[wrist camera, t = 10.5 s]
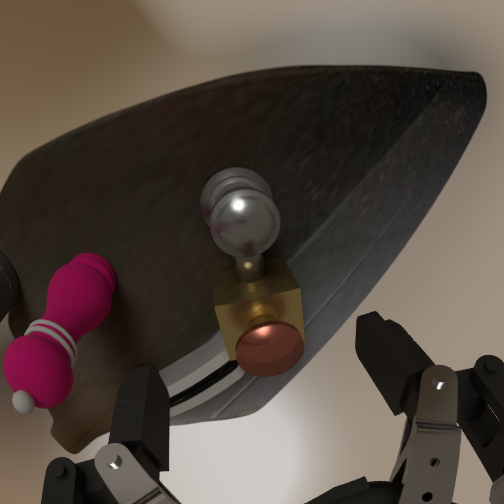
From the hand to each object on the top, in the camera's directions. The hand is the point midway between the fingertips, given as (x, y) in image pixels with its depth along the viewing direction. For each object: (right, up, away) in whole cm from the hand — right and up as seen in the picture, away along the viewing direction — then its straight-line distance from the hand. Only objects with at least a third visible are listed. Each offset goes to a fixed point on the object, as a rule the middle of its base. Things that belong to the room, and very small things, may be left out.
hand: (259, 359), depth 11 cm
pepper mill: (-19, +1, +21) cm, 28 cm away
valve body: (-1, +4, +22) cm, 22 cm away
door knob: (-2, +9, +18) cm, 20 cm away
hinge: (-8, -10, +27) cm, 30 cm away
